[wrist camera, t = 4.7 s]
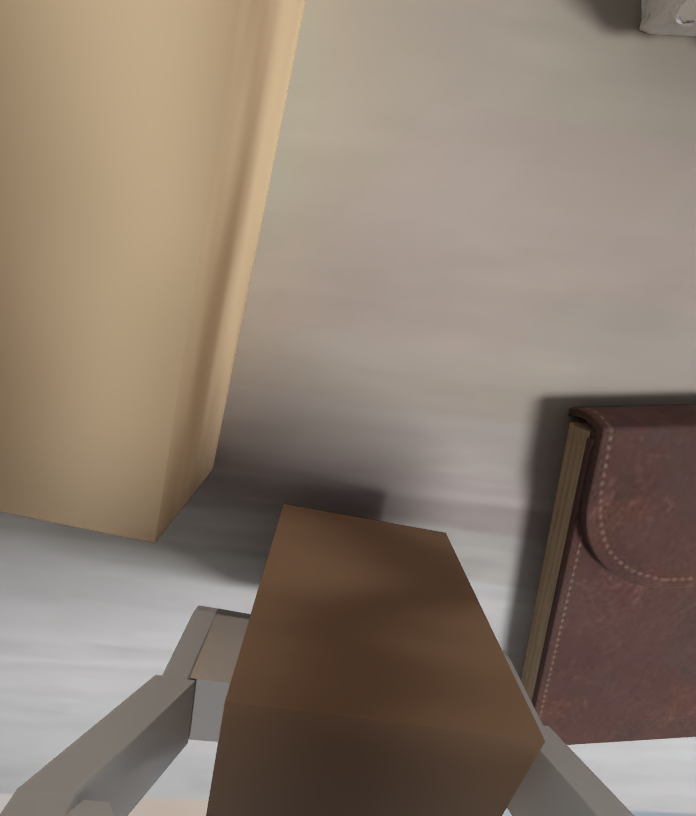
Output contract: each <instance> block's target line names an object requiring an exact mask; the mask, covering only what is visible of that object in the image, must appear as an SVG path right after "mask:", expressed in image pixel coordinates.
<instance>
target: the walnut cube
mask: <svg viewBox="0 0 696 816" xmlns="http://www.w3.org/2000/svg"><path fill="white" fill-rule="evenodd" d="M544 743H545V740H544V738H543V735H542V733H541V731H540V729H539V727H538V725H537V723H536V721H535V719H534V717H533V715H532V712H531V710H530V708H529V706H528V704H527V702H526V700H525V698H524V696H523V694H522V691H521V689H520V687H519V685H518V683H517V681H516V679H515V677H514V675H513V673H512V671H511V668H510V666H509V664H508V662H507V660H506V658H505V656H504V654H503V652H502V650H501V648H500V645H499V643H498V641H497V639H496V637H495V635H494V633H493V631H492V629H491V627H490V625H489V622H488V620H487V618H486V616H485V614H484V612H483V610H482V608H481V606H480V604H479V602H478V599H477V597H476V595H475V593H474V591H473V589H472V587H471V585H470V583H469V581H468V579H467V576H466V574H465V572H464V570H463V568H462V566H461V564H460V562H459V560H458V558H457V556H456V553H455V551H454V549H453V547H452V545H451V543H450V541H449V539H448V537H447V535H446V533H443V532H438V531H432V530H427V529H421V528H415V527H410V526H404V525H399V524H393V523H387V522H382V521H376V520H371V519H365V518H359V517H354V516H348V515H343V514H337V513H331V512H326V511H320V510H315V509H309V508H303V507H298V506H292V505H287V504H283V508H282V511H281V515H280V518H279V521H278V525H277V528H276V531H275V535H274V538H273V541H272V545H271V548H270V552H269V555H268V558H267V562H266V565H265V568H264V572H263V575H262V578H261V582H260V585H259V588H258V592H257V595H256V599H255V602H254V605H253V609H252V612H251V615H250V619H249V622H248V625H247V629H246V632H245V635H244V639H243V642H242V646H241V649H240V652H239V656H238V659H237V662H236V666H235V669H234V672H233V676H232V679H231V682H230V686H229V689H228V693H227V696H226V699H225V704H224V710H223V716H222V722H221V728H220V734H219V741H218V747H217V753H216V759H215V765H214V771H213V777H212V783H211V790H210V796H209V802H208V808H207V814H206V816H502V814H503V813H504V811H505V810H506V808H507V806H508V804H509V803H510V801H511V799H512V798H513V796H514V794H515V792H516V791H517V789H518V787H519V786H520V784H521V782H522V780H523V779H524V777H525V775H526V774H527V772H528V770H529V769H530V767H531V765H532V763H533V762H534V760H535V758H536V757H537V755H538V753H539V751H540V750H541V748H542V746H543V745H544Z"/></svg>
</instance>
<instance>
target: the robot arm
mask: <svg viewBox="0 0 696 816" xmlns="http://www.w3.org/2000/svg"><path fill="white" fill-rule="evenodd" d="M250 615H251V614H246V613H240V612H235V611H229V610H224V609H218V608H211V607H205V606H198V607H197V608H196V610H195V611H194V612H193V614H192V616H191V618H190V620H189V622H188V625H187V627H186V629H185V631H184V633H183V635H182V637H181V639H180V641H179V643H178V645H177V647H176V649H175V651H174V653H173V655H172V657H171V659H170V661H169V663H168V665H167V667H166V669H165V671H164V673H163V675H162V676H161V675H155V676H154V677H152V678H151V679H150V680H149V681H148V682H146V683H145V684H144V685H143V686H142V687H140V688H139V689H138V690H137V691H135V692H134V693H133V694H132V695H131V696H129V697H128V698H127V699H126V700H125V701H123V702H122V703H121V704H120V705H119V706H117V707H116V708H115V709H114V710H112V711H111V712H110V713H109V714H108V715H106V716H105V717H104V718H103V719H102V720H100V721H99V722H98V723H97V724H96V725H94V726H93V727H92V728H91V729H89V730H88V731H87V732H86V733H85V734H83V735H82V736H81V737H80V738H79V739H77V740H76V741H75V742H74V743H73V744H71V745H70V746H69V747H68V748H66V749H65V750H64V751H63V752H62V753H60V754H59V755H58V756H57V757H56V758H54V759H53V760H52V761H51V762H50V763H48V764H47V765H46V766H45V767H43V768H42V769H41V770H40V771H39V772H37V773H36V774H35V775H34V776H33V777H31V778H30V779H29V780H28V781H26V782H25V783H24V784H23V785H22V786H20V787H19V788H18V789H17V790H16V792H15V793H14V795H13V796H12V798H11V799H10V801H9V802H8V804H7V805H6V806H5V808H4V809H3V811H2V812H1V814H0V816H128V814H129V813H130V812H131V811H132V809H133V808H134V807H135V806H136V805H137V804H138V802H139V801H140V800H141V799H142V798H143V796H144V795H145V794H146V793H147V791H148V790H149V789H150V788H151V787H152V785H153V784H154V783H155V782H156V781H157V779H158V778H159V777H160V776H161V775H162V773H163V772H164V771H165V770H166V769H167V767H168V766H169V765H170V764H171V762H172V761H173V760H174V759H175V758H176V756H177V755H178V754H179V753H180V752H181V750H182V749H183V748H184V747H185V746H186V744H187V743H188V739H191V740H203V741H216V742H218V741H219V734H220V728H221V722H222V716H223V710H224V704H225V699H226V696H227V693H228V689H229V686H230V682H231V679H232V676H233V672H234V669H235V666H236V662H237V659H238V656H239V652H240V649H241V646H242V642H243V639H244V635H245V632H246V629H247V625H248V622H249V619H250ZM502 652H503V654H504V656H505V658H506V660H507V662H508V664H509V666H510V668H511V671H512V673H513V675H514V677H515V679H516V681H517V683H518V685H519V687H520V689H521V691H522V694H523V696H524V698H525V700H526V702H527V704H528V706H529V708H530V710H531V712H532V715H533V717H534V719H535V721H536V723H537V725H538V727H539V729H540V731H541V733H542V735H543V738H544V740H545V743H544V745H543V746H542V748H541V750H540V751H539V753H538V755H537V757H536V758H535V760H534V762H533V763H532V765H531V767H530V769H529V770H528V772H527V774H526V775H525V777H524V779H523V780H522V782H521V784H520V786H519V787H518V789H517V791H516V792H515V794H514V796H513V798H512V799H511V801H510V803H509V804H508V806H507V808H508V810H509V811H510V813H511V815H512V816H634V815H633V814H632V813H631V812H630V811H629V810H628V809H627V808H626V807H625V806H624V804H623V803H622V802H621V801H620V800H619V799H618V798H617V797H616V796H615V795H614V794H613V793H612V792H611V791H610V790H609V789H608V788H607V787H606V786H605V785H604V784H603V783H602V781H601V780H600V779H599V778H598V777H597V776H596V775H595V774H594V773H593V772H592V771H591V770H590V769H589V768H588V767H587V766H586V765H585V764H584V763H583V762H582V761H581V759H580V758H579V757H578V756H577V755H576V754H575V753H574V752H573V751H572V750H571V749H570V748H569V747H568V746H567V745H566V744H565V743H564V742H563V741H562V740H561V739H560V738H559V736H558V735H557V734H556V733H555V732H554V731H553V730H552V729H551V728H550V727H549V726H544V725H543V724H542V722H541V720H540V718H539V716H538V714H537V712H536V710H535V708H534V706H533V704H532V702H531V700H530V698H529V696H528V694H527V692H526V690H525V688H524V686H523V684H522V682H521V680H520V678H519V676H518V674H517V672H516V670H515V668H514V666H513V664H512V662H511V660H510V658H509V656H508V655H507V654H506V653H505V652H504V651H502Z"/></svg>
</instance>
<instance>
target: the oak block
mask: <svg viewBox="0 0 696 816" xmlns="http://www.w3.org/2000/svg"><path fill="white" fill-rule="evenodd" d="M305 1H306V0H0V512H4V513H9V514H14V515H19V516H24V517H29V518H34V519H39V520H44V521H48V522H53V523H58V524H63V525H68V526H73V527H78V528H83V529H88V530H93V531H97V532H102V533H107V534H112V535H117V536H122V537H127V538H132V539H137V540H142V541H146V542H151V543H155V542H156V541H157V540H158V538H159V537H160V536H161V535H162V533H163V532H164V531H165V529H166V528H167V527H168V526H169V524H170V523H171V522H172V520H173V519H174V518H175V517H176V515H177V514H178V513H179V512H180V510H181V509H182V508H183V506H184V505H185V504H186V503H187V501H188V500H189V499H190V497H191V496H192V495H193V494H194V492H195V491H196V490H197V489H198V487H199V486H200V485H201V483H202V482H203V481H204V480H205V478H206V477H207V476H208V474H209V473H210V472H211V471H212V469H213V466H214V461H215V456H216V451H217V446H218V441H219V436H220V431H221V426H222V421H223V416H224V411H225V405H226V400H227V395H228V390H229V385H230V380H231V375H232V370H233V365H234V360H235V355H236V350H237V345H238V340H239V335H240V330H241V325H242V320H243V314H244V309H245V304H246V299H247V294H248V289H249V284H250V279H251V274H252V269H253V264H254V259H255V254H256V249H257V244H258V239H259V234H260V229H261V223H262V218H263V213H264V208H265V203H266V198H267V193H268V188H269V183H270V178H271V173H272V168H273V163H274V158H275V153H276V148H277V143H278V138H279V133H280V127H281V122H282V117H283V112H284V107H285V102H286V97H287V92H288V87H289V82H290V77H291V72H292V67H293V62H294V57H295V52H296V47H297V42H298V36H299V31H300V26H301V21H302V16H303V11H304V6H305Z"/></svg>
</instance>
